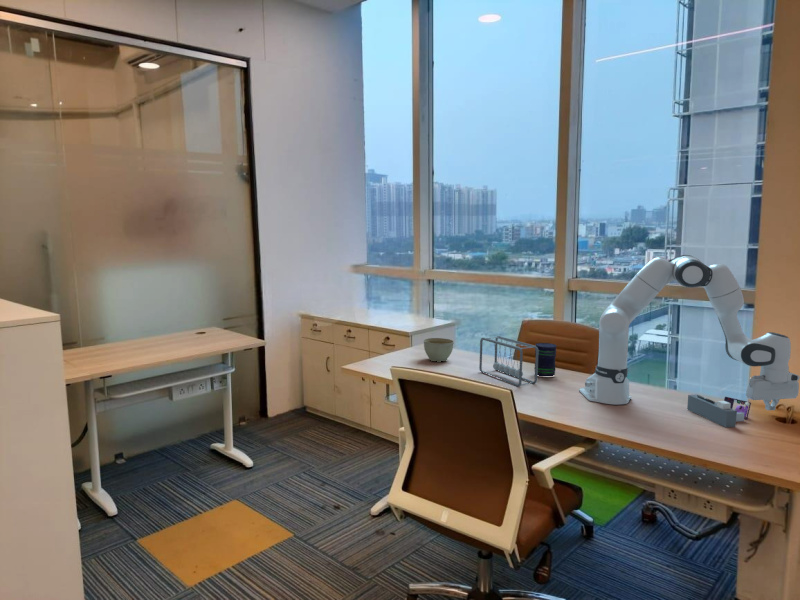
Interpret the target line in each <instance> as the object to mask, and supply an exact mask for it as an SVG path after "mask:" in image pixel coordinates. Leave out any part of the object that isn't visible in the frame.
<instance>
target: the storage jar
mask: <svg viewBox="0 0 800 600" xmlns="http://www.w3.org/2000/svg"><path fill="white" fill-rule="evenodd" d="M535 346H536V347H537V348H538V351H539V353H538V375H539V376H553V375H555V374H556V358H557V344H554V343H550V342H549V343H548V342H538V343H535ZM534 352H535V354H534V356H535V357H536V349H535V348H534ZM535 363H536V360H535ZM535 363H534V364H535ZM533 368H534V369H533V370H535V367H533ZM555 376H556V375H555Z"/></svg>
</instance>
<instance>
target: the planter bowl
mask: <svg viewBox="0 0 800 600" xmlns="http://www.w3.org/2000/svg"><path fill="white" fill-rule="evenodd" d="M454 344H455V341H454V340H453V339H451V338H450V339H449V338H444V337H443V338H441V337H430V338H424V339H423V348H424V353H425V354H426V356H427V357H428V360H429V361H430V360H431V361H430V362H432V361H437V362H436V363H442V362H441V361H446V360H447V361H448V358H449V357H450V355H451V354H452V352H453V349H454ZM447 361H446V362H447Z"/></svg>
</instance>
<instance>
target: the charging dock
mask: <svg viewBox="0 0 800 600" xmlns="http://www.w3.org/2000/svg"><path fill="white" fill-rule="evenodd" d="M730 406H731V403H729V402H726V401H724V400H718V401H715V400H712V399H710V398H706V397H704V396H702V395H699V394H688V395H687V408H686V409H688V410H687V411H689V410H690V412H691V411H692V412H691V413H693V412H694V414H695V413H696V414H695V415H698V414H699V415H698V416H700V415H701V416H700V417H702V416H703V417H702V418H704V417H705V418H704V419H706V418H707V420H708V419H709V421H710V420H711V422H712V423H715V424H717V425H719V426H722V427H723V428H736V423H738V422H744V421H745V419H744V418H745V417H744V413H743V412H741V413H737V411H736V410H735V409H734V408H732V409H731V408H730Z"/></svg>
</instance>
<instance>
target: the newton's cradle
mask: <svg viewBox="0 0 800 600" xmlns="http://www.w3.org/2000/svg"><path fill="white" fill-rule="evenodd" d="M483 341H485V342H490V343H493V345H494V347H493V348H494V363H493V365H492V367H493V370H499V371H501V372H504V373H506V374H505V375H507V374H510V375H512V376H515V377H517V378H516V379H518V378H519V379H518V383H517V382H513V381H511V380H508V379H506V378H503V377H500V376H496V375H494V374H492V373H489V372H485V371H484V370H483V367H482V366H483ZM508 343H509V344H508ZM514 344H515V345H514ZM498 345H499V349H501V346H503V347H504V356H503V357H506V356H507V354H506V349H507V347H508V348H509V349H514V350H515V353H518V352H517V351H519V361H516V360H514V362H513V361H512V358H511V356H509V359H508V360H511V361H508V362H507V360H505V358H503V361H502V360H500V359H499V357H502V355H501V354H502V353H501V350H499V353H498ZM516 345H517V346H516ZM520 346H521V347H520ZM524 349H534V350H535V349H536V356H535V361H536V363H534V368H535V369H534V373H535V375H534V381H533V380H531V379H527V378H525V377H523V375H524V372H523V358H524V357H523V355H524V354H523V352H524ZM511 352H512V350H509V355H512V353H511ZM538 353H539V351H538V348H537V347H536V345H533V344H530V343H526V342H522V341H519V340H514V339H511V338H509V337H508V338H507V337H503V336H499V335H497V336H494V337H493V336H492V337H482V338H480V341H479V367H478V368H479V369H478V370H479V371H481V372H484V373H487V374H490V375H492V376H495V377H498V378H500V379H502V380H504V381H506V382H505V383H507V382H508V383H507V384H509V383H511V384H510V385H512V384H513V386H515V385H516V387H518V386H519V387H521V386H523V385H528V384H529V382H531V383H530V384H532V383H534V384H535V385H536V384H537V382H538V376H537V375H538ZM498 354H499V356H498ZM515 358H518V356H517V354H515ZM498 360H500V362H501V363H500V362H499V361H498ZM504 360H505V362H506V364H504V363H503V362H504ZM510 362H511V363H513V364H515V362H516V363H517V364H516V365H517V366H519V367H518V368H515V365H512V366H510V365H509V363H510ZM518 363H519V364H518ZM481 372H480V373H481ZM501 372H500V373H501ZM504 373H503V374H504ZM512 376H511V377H512ZM515 377H514V378H515ZM522 379H523V380H522ZM524 380H526V381H529V382H526V381H525V383H523V382H522V381H524ZM504 381H503V382H504ZM530 384H529V385H530ZM534 384H533V385H534Z"/></svg>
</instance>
